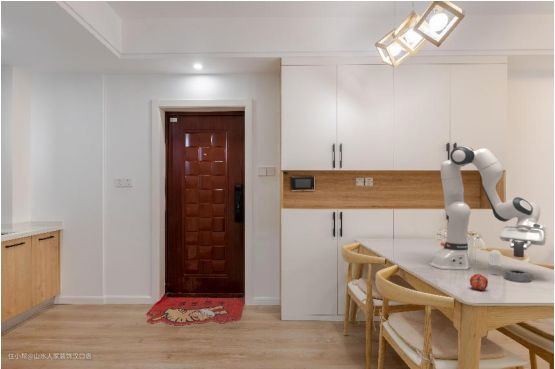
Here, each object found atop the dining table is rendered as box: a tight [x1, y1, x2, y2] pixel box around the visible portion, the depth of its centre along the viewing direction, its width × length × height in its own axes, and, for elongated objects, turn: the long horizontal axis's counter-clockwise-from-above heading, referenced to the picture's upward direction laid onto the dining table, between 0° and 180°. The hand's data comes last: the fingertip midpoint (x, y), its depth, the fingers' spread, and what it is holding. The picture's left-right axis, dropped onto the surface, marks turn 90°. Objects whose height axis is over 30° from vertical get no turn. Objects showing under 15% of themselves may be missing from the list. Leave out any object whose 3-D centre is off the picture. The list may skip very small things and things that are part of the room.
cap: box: [513, 240, 525, 258], centre depth 189 cm, size 4×4×8 cm
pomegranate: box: [469, 273, 489, 291], centre depth 170 cm, size 7×7×10 cm
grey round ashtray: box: [503, 268, 532, 284], centre depth 188 cm, size 11×11×4 cm
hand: (518, 248), depth 189 cm, fingers closed on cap, 4 cm apart
